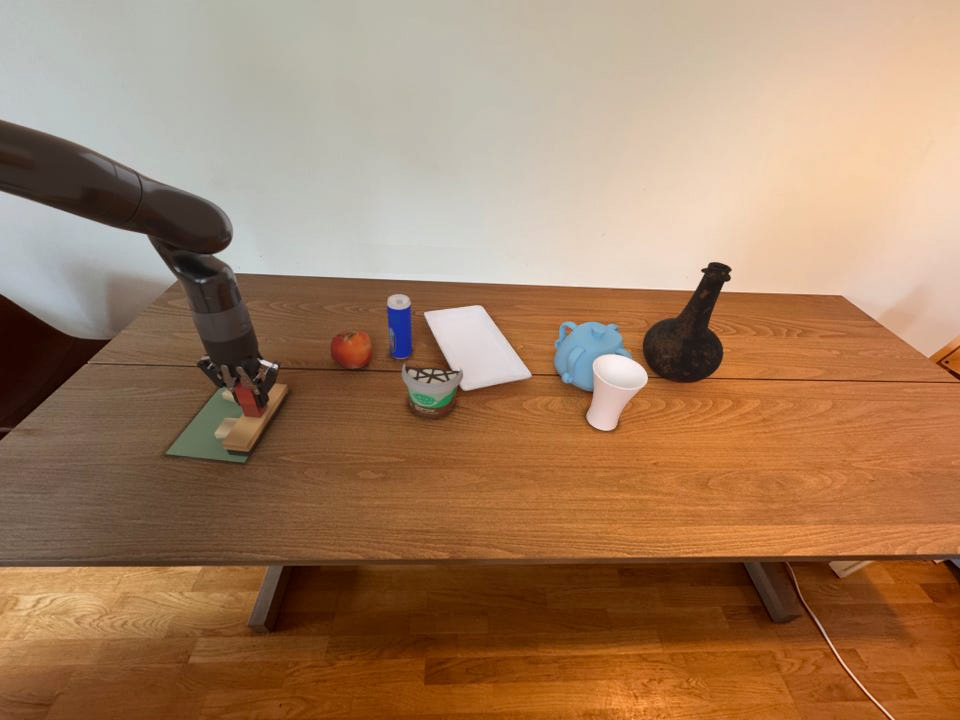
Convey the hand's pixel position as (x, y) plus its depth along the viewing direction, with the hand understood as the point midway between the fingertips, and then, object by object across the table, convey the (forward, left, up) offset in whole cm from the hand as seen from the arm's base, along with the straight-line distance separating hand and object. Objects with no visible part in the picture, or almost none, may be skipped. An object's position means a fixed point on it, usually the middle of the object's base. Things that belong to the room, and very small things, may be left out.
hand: (253, 403), depth 77 cm
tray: (+30, -38, -6) cm, 49 cm away
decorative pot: (+26, -66, -6) cm, 71 cm away
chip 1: (+7, +8, -5) cm, 11 cm away
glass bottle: (+31, -88, -6) cm, 94 cm away
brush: (0, 0, -5) cm, 5 cm away
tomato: (+21, -11, -6) cm, 25 cm away
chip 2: (-3, +4, -5) cm, 7 cm away
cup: (+11, -67, -6) cm, 69 cm away
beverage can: (+26, -21, -6) cm, 34 cm away
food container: (+8, -31, -6) cm, 33 cm away
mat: (0, +6, -6) cm, 8 cm away
